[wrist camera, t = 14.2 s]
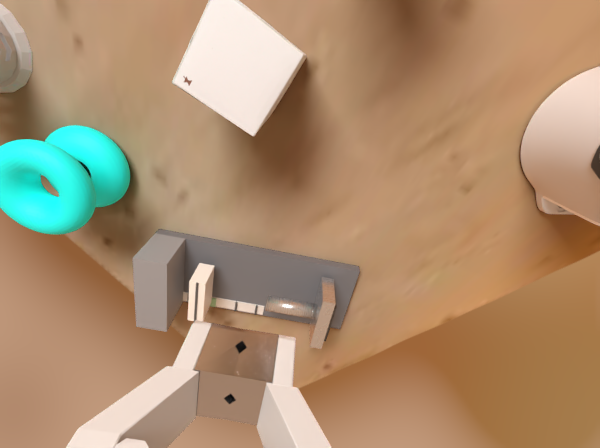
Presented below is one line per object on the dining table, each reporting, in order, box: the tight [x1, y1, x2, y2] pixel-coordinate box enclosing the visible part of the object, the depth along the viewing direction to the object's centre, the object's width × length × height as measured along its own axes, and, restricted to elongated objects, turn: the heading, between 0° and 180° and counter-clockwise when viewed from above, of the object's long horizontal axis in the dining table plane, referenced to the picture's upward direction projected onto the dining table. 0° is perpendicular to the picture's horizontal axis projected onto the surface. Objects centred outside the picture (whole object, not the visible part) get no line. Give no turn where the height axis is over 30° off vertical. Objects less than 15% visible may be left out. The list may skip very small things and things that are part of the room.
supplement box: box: [172, 0, 307, 136], centre depth 29 cm, size 7×7×13 cm
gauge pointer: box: [188, 263, 214, 321], centre depth 43 cm, size 2×6×4 cm, turn 169°
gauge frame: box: [133, 229, 360, 332], centre depth 44 cm, size 28×11×7 cm, turn 79°
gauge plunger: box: [265, 277, 337, 349], centre depth 44 cm, size 9×8×5 cm
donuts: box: [0, 125, 130, 234], centre depth 36 cm, size 10×10×10 cm
